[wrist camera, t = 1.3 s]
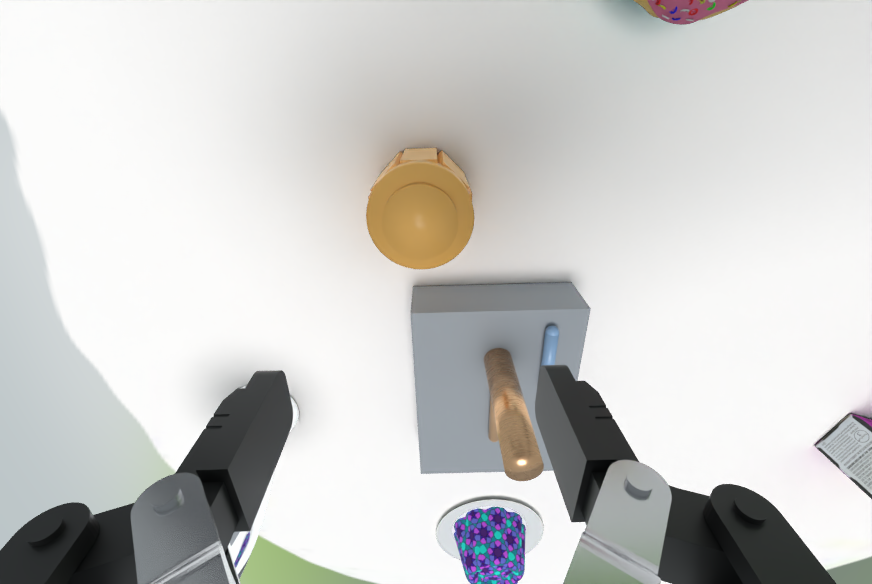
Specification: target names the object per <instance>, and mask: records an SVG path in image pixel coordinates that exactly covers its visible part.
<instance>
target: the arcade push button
mask: <svg viewBox="0 0 872 584" xmlns="http://www.w3.org/2000/svg"><path fill="white" fill-rule="evenodd" d="M370 191H371V193H370V195H369V196H368V198H369V201H368V205H367V212H366V219H367V227H368V230H369V234H370V236H371V238H372V240H373V242H374V244H375V245H376V247H377V248H378V249H379V250H380V252H381V253H382V254H384V255H385V256H386V257H387V258H388V259H390V260H391V261H393V262H395V263H396V264H399V265H401V266H404V267H408V268H413V269H430V268H435V267H438V266H441V265H443V264H445V263H447V262H449V261H451V260H452V259H454V258H455V257H456V256H457V255H458V254H459V253H460V252H461V251H462V250H463V249H464V247H465V246H466V244H467V243H468V241H469V239H470V236H471V234H472V230H473V226H474V210H473V205H472V192H471V190H470V187H469V184H468V182H467V179H466V177H465V174H464V172H463V171H462V170H461V169H460V168H459V167H458V166H457V165H456V164H455V163H454V162H453V161H452V160H451V159H450V158H449V157H448V156H447V155H446V154H445V153H444V152H443V151H442V150H441V151H440V153H439V154H438V155H437V149H436V148H409V149H405V150H404V153H402V152H399V153H398V154H397V155H396V156H395V158H394V159H393V160H392V161H391V162H390V163H389V165H388V166H387V167H386V168H385V169H384V170H383V171H382V173H381V174H380V175H379V177H378V179H377V180H376V182H375V183H374V185H373V187H372V188H371V190H370Z"/></svg>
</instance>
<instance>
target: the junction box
mask: <svg viewBox="0 0 872 584" xmlns="http://www.w3.org/2000/svg"><path fill="white" fill-rule="evenodd" d="M589 314H590V307H589V306H588V304H587V303H586V302H585V300H584V299H583V298H582V296H581V295H580V293H579V292H578V291H577V289H576V288H575V286H574V285H573V284H572V282H562V283H524V284H486V285H448V286H413V295H412V305H411V325H412V341H413V357H414V372H415V388H416V404H417V419H418V435H419V451H420V466H421V474H429V473H470V472H505V470H504V465H503V460H502V455H501V449H500V444H499V439H498V434H497V428H496V423H495V418H494V413H493V407H492V402H491V397H490V391H489V386H488V381H487V376H486V370H485V365H484V356H485V354H486V353H487V352H488V351H490V350H491V349H494V348H503V349H506V350H507V351H509V352H510V354H511V356H512V360H513V363H514V366H515V370H516V373H517V377H518V380H519V383H520V387H521V390H522V393H523V397H524V400H525V403H526V407H527V410H528V414H529V417H530V420H531V424H532V427H533V430H534V434H535V437H536V440H537V444H538V447H539V451H540V454H541V457H542V461H543V464H544V468H543V471H550V470H553V467H552V464H551V461H550V459H549V456H548V453H547V450H546V447H545V444H544V441H543V438H542V435H541V433H540V430H539V427H538V424H537V420H536V415H535V399H536V392H537V385H538V378H539V372H540V368H541V366H542V365H567V366H568V368H569V369H570V371H571V373H572V375H573V377H574V379H575V381H577V379H578V374H579V369H580V363H581V358H582V352H583V347H584V341H585V336H586V331H587V325H588V320H589Z"/></svg>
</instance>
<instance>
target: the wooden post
mask: <svg viewBox="0 0 872 584" xmlns="http://www.w3.org/2000/svg"><path fill="white" fill-rule="evenodd" d="M484 365H485V370H486V376H487V381H488V386H489V391H490V397H491V402H492V407H493V413H494V418H495V423H496V428H497V434H498V439H499V444H500V449H501V455H502V460H503V465H504V470H505V473H506V475H507V476H508V477H509V478H511V479H513V480H516V481H528V480H531V479H534V478H536V477H537V476H539V475H540V474H541V473H542V471H543V468H544V464H543V461H542V457H541V454H540V451H539V447H538V444H537V440H536V437H535V434H534V430H533V427H532V424H531V420H530V417H529V414H528V410H527V407H526V403H525V400H524V397H523V393H522V390H521V387H520V383H519V380H518V377H517V373H516V370H515V366H514V363H513V360H512V356H511V354H510V352H509V351H507V350H506V349H503V348H494V349H491V350H490V351H488V352H487V353H486V354H485V356H484Z"/></svg>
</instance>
